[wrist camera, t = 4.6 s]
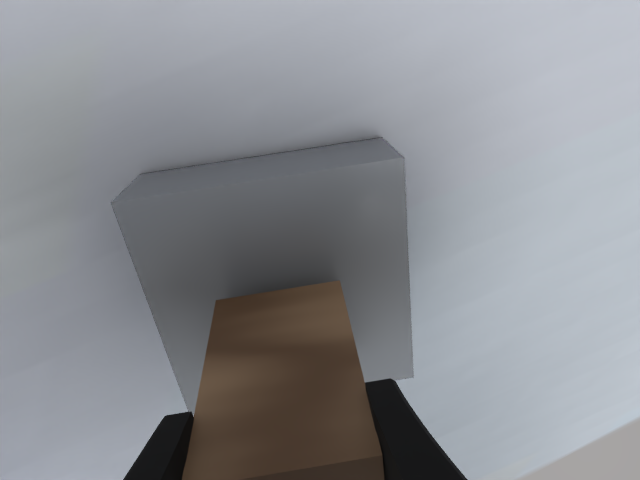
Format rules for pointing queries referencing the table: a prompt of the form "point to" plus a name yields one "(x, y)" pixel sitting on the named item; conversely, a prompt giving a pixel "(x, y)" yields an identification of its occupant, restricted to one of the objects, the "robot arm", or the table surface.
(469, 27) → the table surface
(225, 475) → the walnut block
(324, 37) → the table surface
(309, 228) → the plinth
